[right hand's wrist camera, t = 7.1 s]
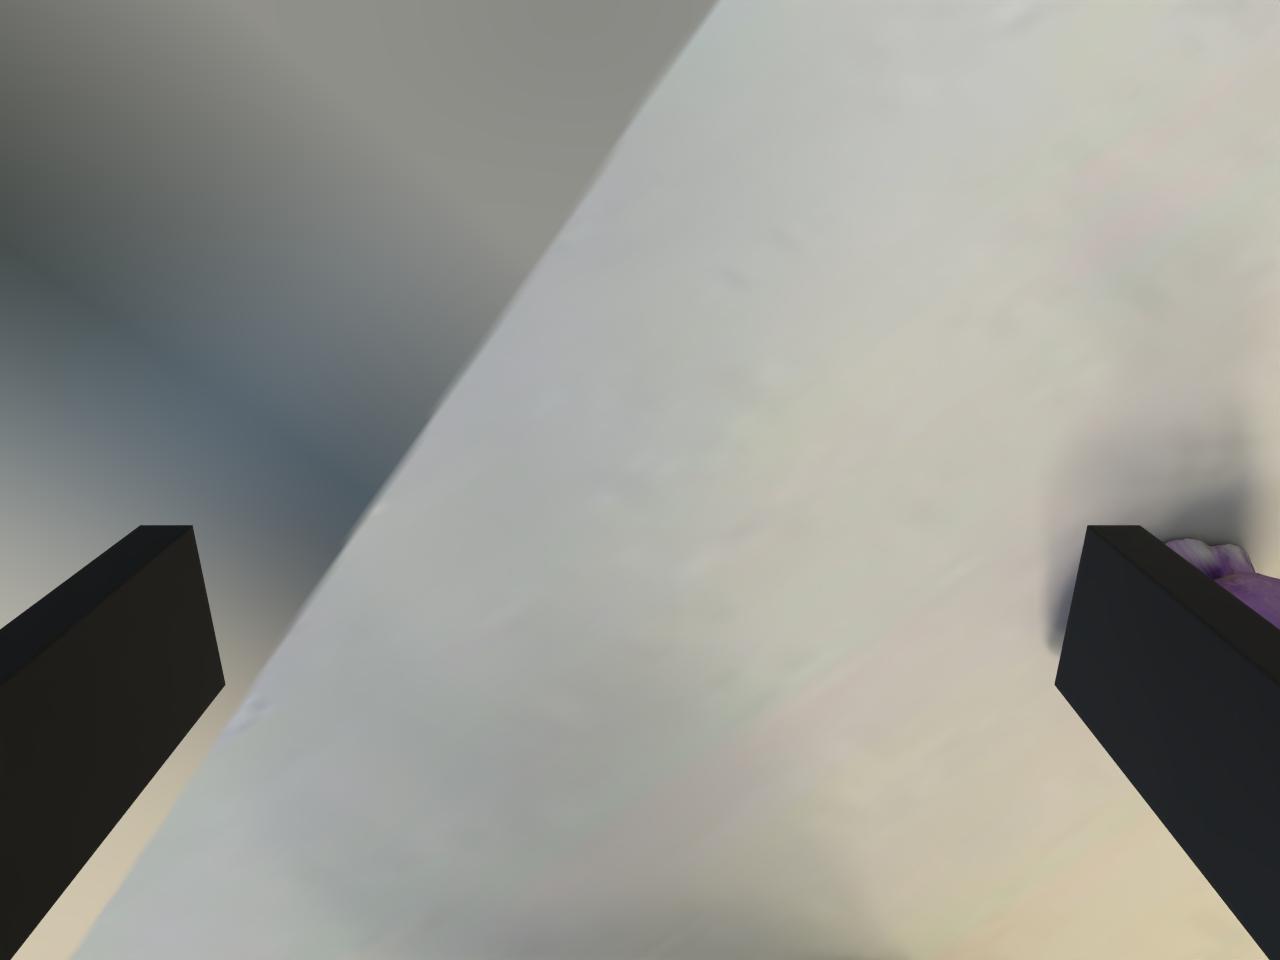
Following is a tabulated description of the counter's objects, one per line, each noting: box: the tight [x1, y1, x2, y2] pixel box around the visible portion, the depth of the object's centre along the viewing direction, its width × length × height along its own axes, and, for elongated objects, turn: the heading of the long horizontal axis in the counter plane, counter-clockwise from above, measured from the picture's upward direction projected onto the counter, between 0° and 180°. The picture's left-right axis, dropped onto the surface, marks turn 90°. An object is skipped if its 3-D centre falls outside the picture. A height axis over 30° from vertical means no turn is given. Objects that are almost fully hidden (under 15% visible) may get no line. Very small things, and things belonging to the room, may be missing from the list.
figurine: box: [1164, 538, 1280, 629], centre depth 37 cm, size 9×10×15 cm
